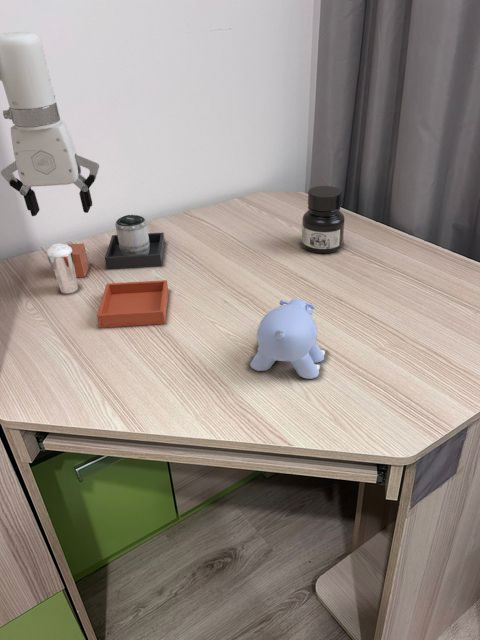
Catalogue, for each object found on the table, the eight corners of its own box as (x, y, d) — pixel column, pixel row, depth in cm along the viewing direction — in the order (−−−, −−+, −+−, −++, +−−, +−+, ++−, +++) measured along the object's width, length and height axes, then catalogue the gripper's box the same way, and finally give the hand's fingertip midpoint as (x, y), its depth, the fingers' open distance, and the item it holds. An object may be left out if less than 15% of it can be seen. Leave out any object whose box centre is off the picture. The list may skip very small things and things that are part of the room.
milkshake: (48, 291, 103) (34, 243, 97) (73, 281, 106) (61, 234, 100) (61, 299, 100) (47, 250, 95) (86, 289, 104) (74, 241, 98)
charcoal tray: (106, 269, 110) (104, 258, 109) (114, 245, 119) (112, 235, 118) (161, 266, 111) (160, 255, 109) (165, 242, 120) (163, 232, 118)
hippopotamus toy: (332, 334, 90) (335, 283, 84) (314, 390, 78) (316, 336, 73) (269, 325, 92) (269, 275, 87) (243, 378, 81) (240, 325, 75)
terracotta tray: (99, 327, 93) (96, 315, 91) (109, 295, 102) (106, 283, 100) (165, 323, 93) (163, 311, 92) (168, 291, 102) (167, 280, 101)
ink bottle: (294, 250, 116) (295, 195, 109) (307, 234, 122) (309, 181, 115) (338, 257, 113) (341, 201, 105) (349, 240, 119) (353, 187, 112)
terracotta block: (59, 278, 107) (53, 255, 104) (64, 266, 111) (58, 244, 108) (84, 276, 108) (79, 254, 105) (89, 265, 112) (84, 243, 109)
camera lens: (139, 262, 111) (133, 226, 107) (115, 256, 114) (108, 221, 109) (156, 250, 116) (151, 215, 111) (132, 245, 118) (126, 210, 113)
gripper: (-23, 124, 89) (9, 222, 99) (83, 118, 89) (104, 216, 100) (-9, 113, 95) (20, 207, 105) (91, 108, 95) (110, 201, 106)
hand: (61, 211), depth 102 cm, fingers open, 9 cm apart
